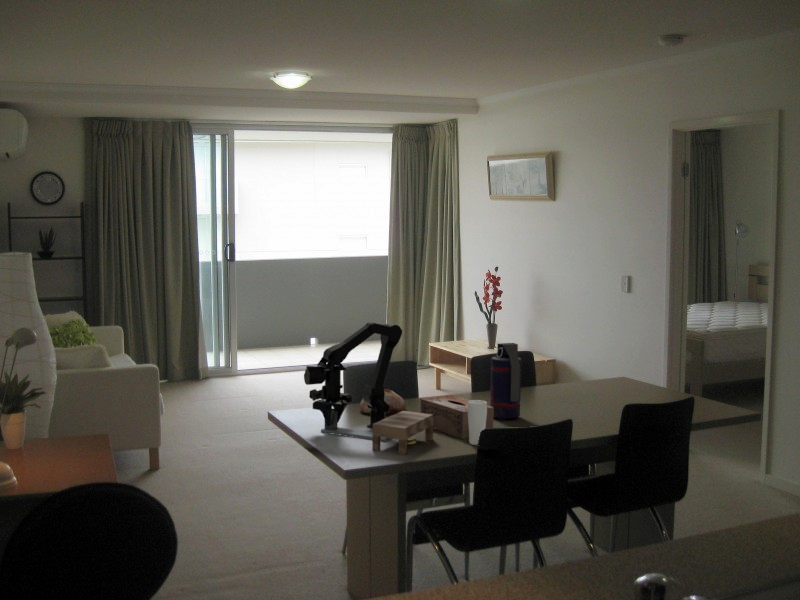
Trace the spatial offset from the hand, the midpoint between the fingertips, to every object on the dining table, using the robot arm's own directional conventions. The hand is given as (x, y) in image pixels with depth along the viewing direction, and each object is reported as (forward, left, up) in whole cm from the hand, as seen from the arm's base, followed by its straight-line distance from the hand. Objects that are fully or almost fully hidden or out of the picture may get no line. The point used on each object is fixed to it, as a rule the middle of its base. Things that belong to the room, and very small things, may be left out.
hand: (332, 424), depth 306 cm
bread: (-39, 0, -3) cm, 39 cm away
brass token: (0, +31, -3) cm, 31 cm away
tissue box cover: (-27, +38, -3) cm, 47 cm away
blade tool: (0, +10, -3) cm, 11 cm away
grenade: (-52, +49, -3) cm, 71 cm away
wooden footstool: (+4, +31, -2) cm, 31 cm away
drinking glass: (-10, +53, -3) cm, 54 cm away
